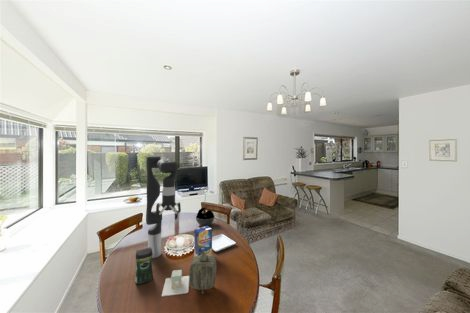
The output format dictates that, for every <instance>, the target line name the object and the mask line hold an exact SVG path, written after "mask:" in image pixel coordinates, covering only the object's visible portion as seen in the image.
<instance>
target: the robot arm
mask: <svg viewBox="0 0 470 313" xmlns="http://www.w3.org/2000/svg"><path fill="white" fill-rule="evenodd" d="M145 161H146V212H145V213H146V214H145V224H146V225H147V226H151V225H153V226H151V227H150V228H149V229H148V230H147V248H149V247H151V248H152V252H153V256H152V259H156V258H159V257H160V256H161V255H162V221H163V212H164V211H172V212H174V220H175V221H176V220H177V219H178V217H179V214H180V213H181V211H182V210H181V209H182V208H181V202H179V201H178V202H176V176H177V173H178V169H179V165H178V163H177V161H169V160H166V159H164V158H163V156H160V155H147V157H146V160H145ZM153 169H158V170H160V173H162V174H169V175H168V176H165V177H163V178H162V191H161V184H160V182H159V181H158V179H157V178H156V177H155V175H154V173H153ZM160 194H161V196H162V197H161V203H159V202H157V203H156V201H157V200H158V199H159V197H160ZM155 203H156V208H155V209H156V210H154V211H153V210H152V209H153V207H154V205H155ZM176 206H177V208H176ZM160 207H162V209H161V210H160Z"/></svg>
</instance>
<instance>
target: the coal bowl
mask: <svg viewBox="0 0 470 313" xmlns="http://www.w3.org/2000/svg"><path fill="white" fill-rule="evenodd" d="M206 209H207V207H202V208H200V209H198V212H197V214H196V216H195V221H196V223H197V224H198V225H200V226H201V227H205V226H210V225H211V224H213V222H214V221H215V216H216V215H214V212H213V211H212V210H210V209H207V210H206ZM205 210H206V211H205ZM204 211H205V212H204Z"/></svg>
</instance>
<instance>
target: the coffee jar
mask: <svg viewBox="0 0 470 313" xmlns="http://www.w3.org/2000/svg"><path fill="white" fill-rule="evenodd" d="M152 256H153V252H152V248H151V247H149V248H148V247H145V248H141V249H138V250H136V252H135V257H134V259H135V262H136V263H135V264H136V267H135V279H134V280H135V283H136V284H137V285H141V284H144V283H148V282H150V281H152V279H153V278H154V277H153V276H154V273H153V265H152V264H153V263H152V259H153V258H152Z"/></svg>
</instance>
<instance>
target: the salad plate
mask: <svg viewBox="0 0 470 313" xmlns="http://www.w3.org/2000/svg"><path fill="white" fill-rule="evenodd" d="M234 245H236V241H234V240H233V239H231V238H229V237H228V236H226V235H225V234H223V233H221V234H218V235H215V236H212V251H214V253H215V252H216V253H217V252H220V251H222V250H225V249H227V248H230V247H233V246H234Z"/></svg>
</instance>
